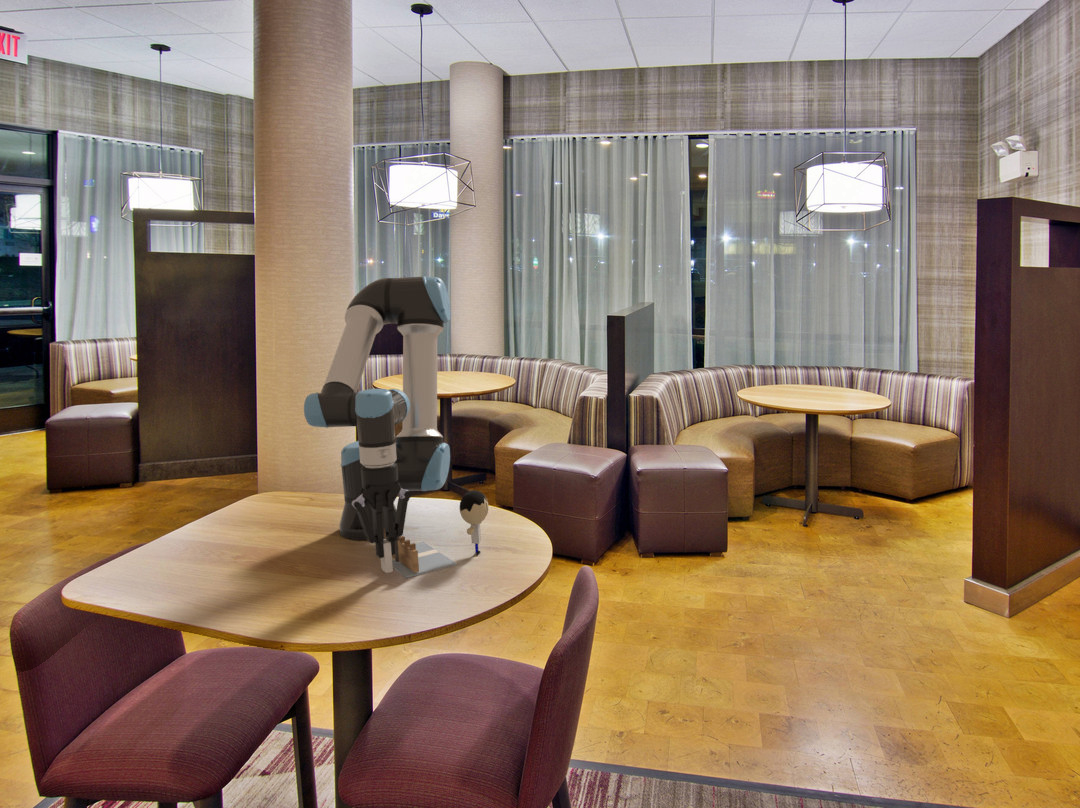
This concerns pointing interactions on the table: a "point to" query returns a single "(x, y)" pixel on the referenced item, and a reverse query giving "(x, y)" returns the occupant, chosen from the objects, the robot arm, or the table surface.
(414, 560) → the notched wooden bar
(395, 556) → the fence fixed
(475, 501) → the toy
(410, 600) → the table surface
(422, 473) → the robot arm
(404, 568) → the card
